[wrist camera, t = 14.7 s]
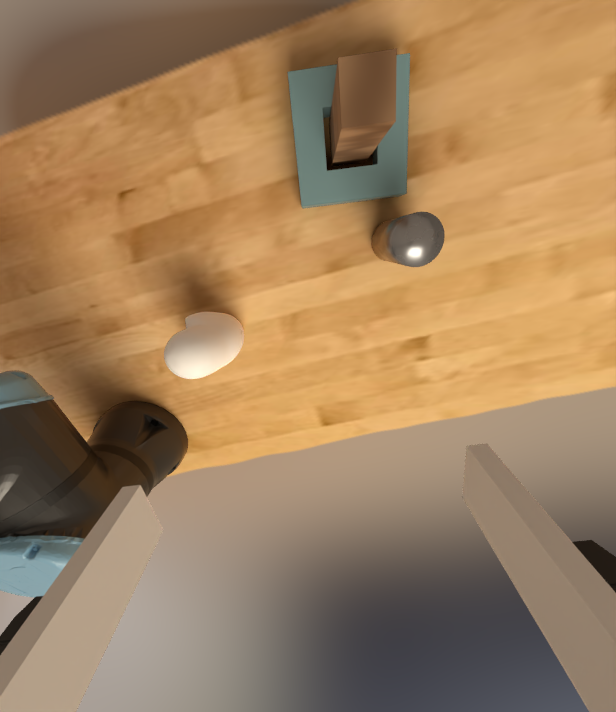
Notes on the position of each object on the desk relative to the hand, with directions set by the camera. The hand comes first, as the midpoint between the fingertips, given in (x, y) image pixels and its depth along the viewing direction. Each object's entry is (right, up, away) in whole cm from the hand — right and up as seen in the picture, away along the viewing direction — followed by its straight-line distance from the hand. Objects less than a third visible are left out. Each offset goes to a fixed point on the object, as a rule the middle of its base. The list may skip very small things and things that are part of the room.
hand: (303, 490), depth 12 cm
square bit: (+5, +30, +22) cm, 37 cm away
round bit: (+11, +21, +26) cm, 34 cm away
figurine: (-13, +9, +31) cm, 35 cm away
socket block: (+5, +30, +22) cm, 37 cm away
